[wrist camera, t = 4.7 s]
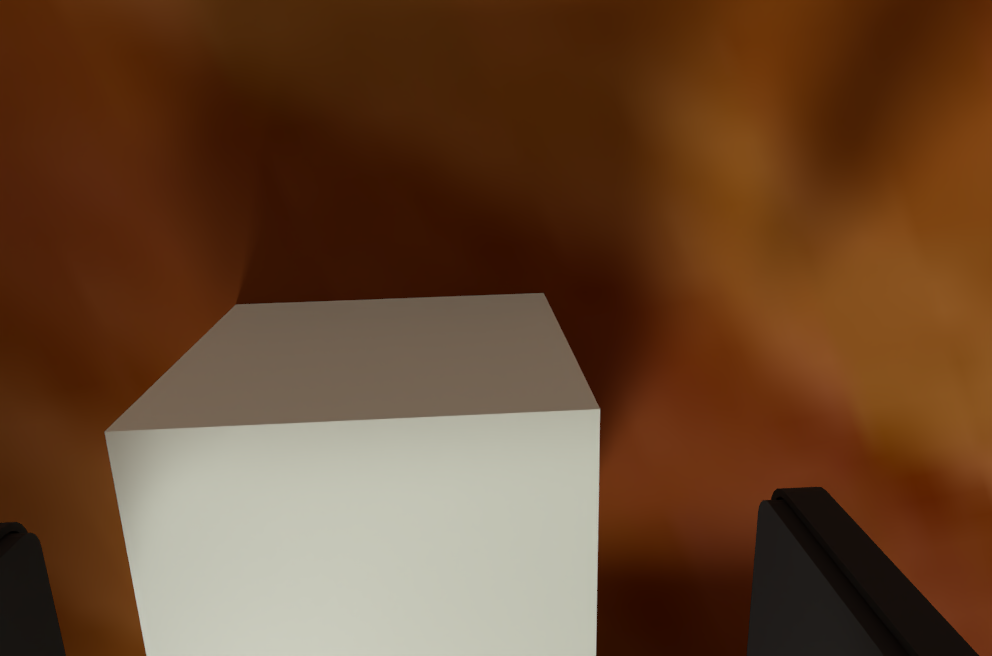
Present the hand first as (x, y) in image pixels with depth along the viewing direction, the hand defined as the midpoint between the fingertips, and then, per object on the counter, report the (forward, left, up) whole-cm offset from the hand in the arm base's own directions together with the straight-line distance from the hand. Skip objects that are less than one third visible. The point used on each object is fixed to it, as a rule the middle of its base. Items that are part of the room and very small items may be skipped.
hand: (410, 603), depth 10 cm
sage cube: (0, 0, -5) cm, 5 cm away
